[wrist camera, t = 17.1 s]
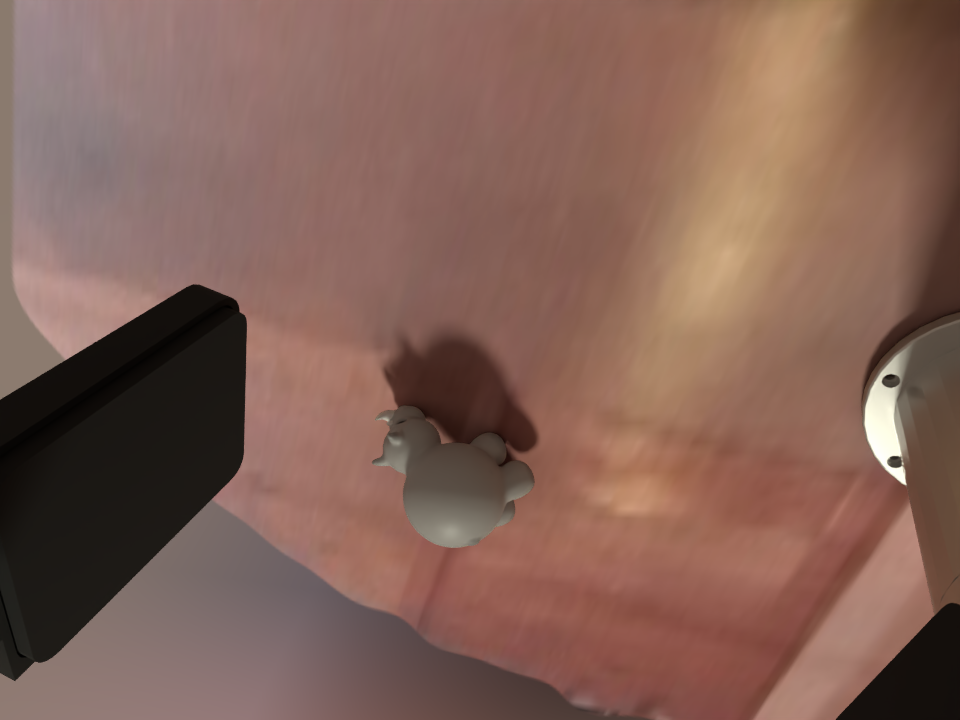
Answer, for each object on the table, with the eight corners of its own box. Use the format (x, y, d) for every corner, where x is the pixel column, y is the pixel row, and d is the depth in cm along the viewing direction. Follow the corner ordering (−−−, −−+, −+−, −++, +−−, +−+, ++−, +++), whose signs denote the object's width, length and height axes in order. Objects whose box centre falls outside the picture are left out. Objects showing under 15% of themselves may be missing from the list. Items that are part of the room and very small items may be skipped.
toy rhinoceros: (445, 360, 55) (361, 390, 48) (554, 476, 50) (478, 526, 44) (411, 422, 59) (329, 457, 52) (508, 533, 55) (433, 585, 48)
